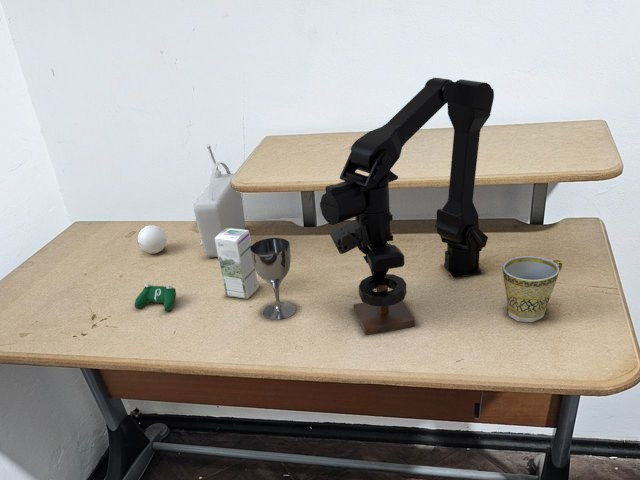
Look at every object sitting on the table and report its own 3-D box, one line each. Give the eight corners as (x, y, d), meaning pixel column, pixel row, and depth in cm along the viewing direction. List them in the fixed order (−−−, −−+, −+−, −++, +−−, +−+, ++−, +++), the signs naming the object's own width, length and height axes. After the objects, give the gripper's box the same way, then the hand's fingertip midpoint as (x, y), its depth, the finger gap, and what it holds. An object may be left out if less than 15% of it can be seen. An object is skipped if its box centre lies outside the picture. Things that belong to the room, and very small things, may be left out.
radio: (219, 227, 176) (202, 136, 162) (248, 225, 174) (233, 134, 161) (197, 262, 158) (176, 164, 144) (229, 261, 156) (211, 162, 143)
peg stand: (400, 302, 131) (399, 272, 128) (415, 326, 123) (414, 295, 119) (353, 310, 131) (351, 280, 127) (365, 335, 122) (363, 304, 118)
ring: (397, 280, 128) (397, 270, 127) (412, 301, 121) (412, 291, 119) (354, 288, 127) (353, 278, 126) (367, 310, 120) (366, 300, 118)
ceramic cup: (524, 333, 117) (529, 285, 112) (488, 311, 125) (491, 265, 119) (576, 311, 122) (583, 264, 116) (538, 291, 129) (543, 246, 124)
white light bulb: (173, 245, 168) (167, 219, 164) (164, 257, 162) (157, 231, 158) (138, 246, 170) (131, 221, 166) (127, 259, 164) (120, 233, 160)
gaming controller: (176, 314, 140) (181, 288, 141) (168, 310, 137) (173, 283, 138) (141, 311, 143) (146, 286, 144) (132, 306, 140) (137, 281, 141)
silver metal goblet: (293, 321, 129) (284, 255, 121) (256, 320, 131) (245, 255, 123) (301, 301, 136) (293, 237, 128) (266, 301, 138) (256, 237, 129)
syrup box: (259, 287, 143) (250, 228, 135) (247, 300, 139) (236, 239, 131) (238, 284, 146) (227, 226, 138) (225, 297, 141) (213, 237, 133)
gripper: (322, 197, 125) (329, 268, 133) (342, 234, 109) (348, 311, 118) (377, 189, 126) (380, 259, 134) (404, 223, 110) (405, 301, 119)
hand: (377, 281), depth 126 cm, fingers closed on ring, 2 cm apart
